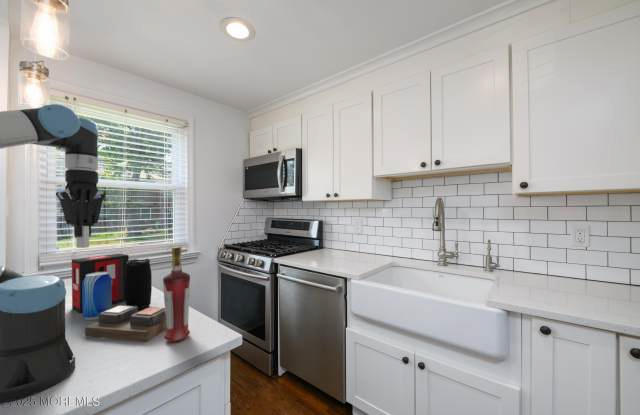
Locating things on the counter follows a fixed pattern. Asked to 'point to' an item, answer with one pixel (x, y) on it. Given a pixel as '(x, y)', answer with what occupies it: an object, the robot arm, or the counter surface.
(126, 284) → the black tapered cylinder
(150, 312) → the brick-red key
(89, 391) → the counter surface
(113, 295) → the cleaning product box
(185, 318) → the liquor
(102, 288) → the blue striped container
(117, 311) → the off-white key
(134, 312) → the key panel
